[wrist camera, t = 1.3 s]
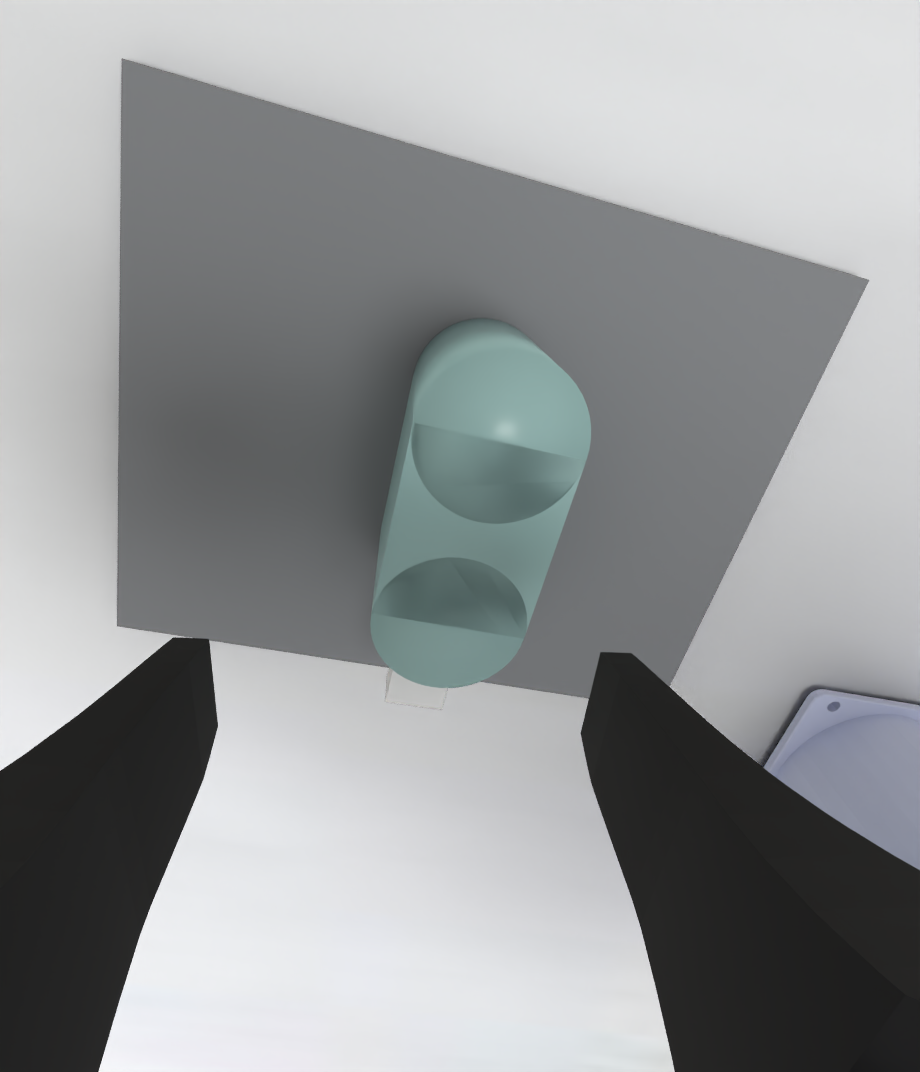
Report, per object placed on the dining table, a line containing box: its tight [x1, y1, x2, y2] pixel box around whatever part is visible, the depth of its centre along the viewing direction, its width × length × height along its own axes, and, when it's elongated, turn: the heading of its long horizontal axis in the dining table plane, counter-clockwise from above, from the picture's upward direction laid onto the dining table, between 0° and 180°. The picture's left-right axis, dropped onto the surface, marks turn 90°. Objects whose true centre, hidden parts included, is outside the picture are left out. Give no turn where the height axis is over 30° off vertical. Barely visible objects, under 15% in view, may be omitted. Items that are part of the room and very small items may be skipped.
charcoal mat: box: [117, 59, 869, 698], centre depth 19 cm, size 20×16×1 cm
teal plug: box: [370, 318, 591, 710], centre depth 17 cm, size 11×4×5 cm, turn 166°
